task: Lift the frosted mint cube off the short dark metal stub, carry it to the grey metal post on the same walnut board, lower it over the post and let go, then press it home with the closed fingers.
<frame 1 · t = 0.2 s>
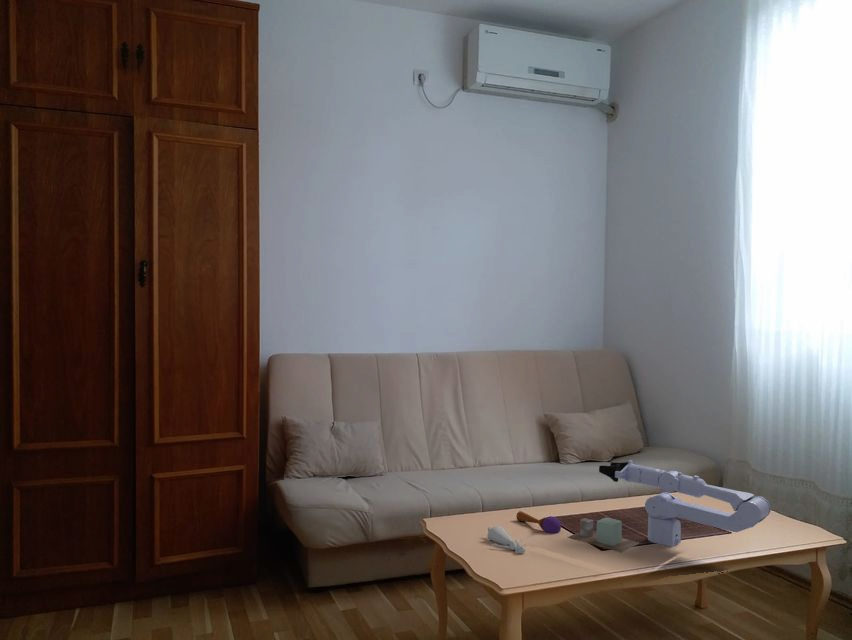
hand: (605, 467, 235), 21 cm above the table, tool horizontal, fingers open, 7 cm apart
purple and brown maraca: (538, 529, 237), on the table
frosted mint cube: (609, 541, 220), point 1 cm above the table, touching board
woman figurine: (506, 546, 220), on the table
board: (603, 543, 222), on the table
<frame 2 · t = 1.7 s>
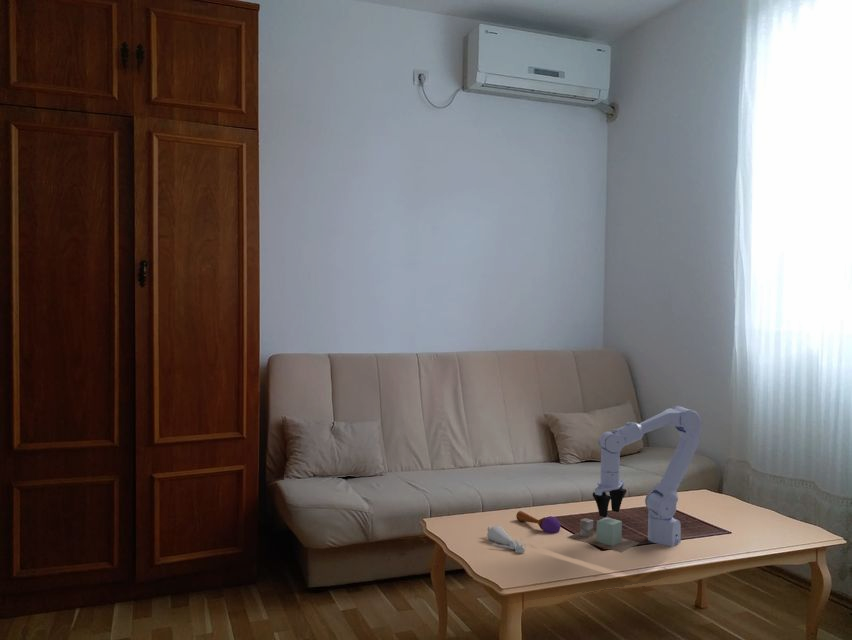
hand: (609, 513, 220), 10 cm above the table, tool pointing down, fingers open, 7 cm apart
nothing on the table moved.
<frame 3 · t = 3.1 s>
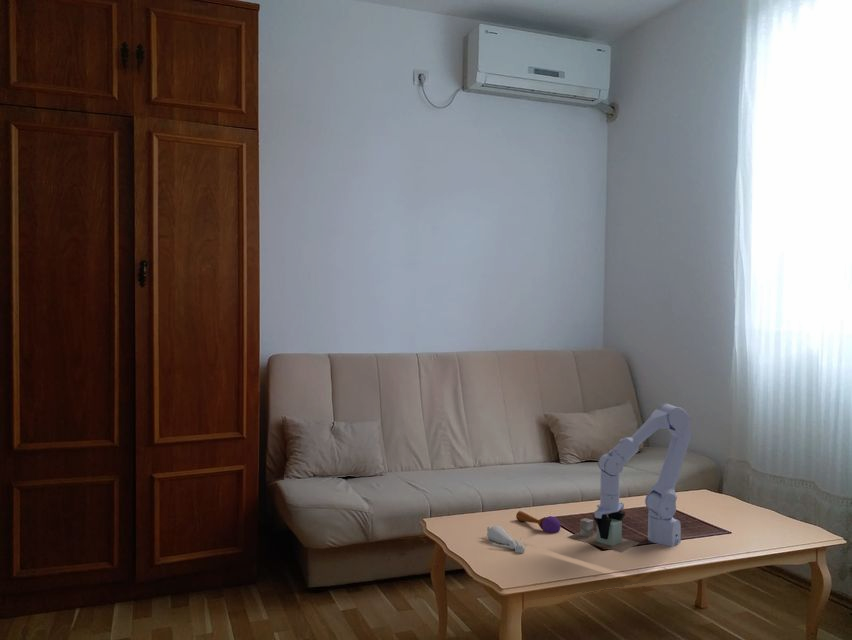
hand: (609, 536, 220), 3 cm above the table, tool pointing down, fingers closed on frosted mint cube, 6 cm apart
frosted mint cube: (609, 541, 220), point 1 cm above the table, touching board, gripper
everything else where it was.
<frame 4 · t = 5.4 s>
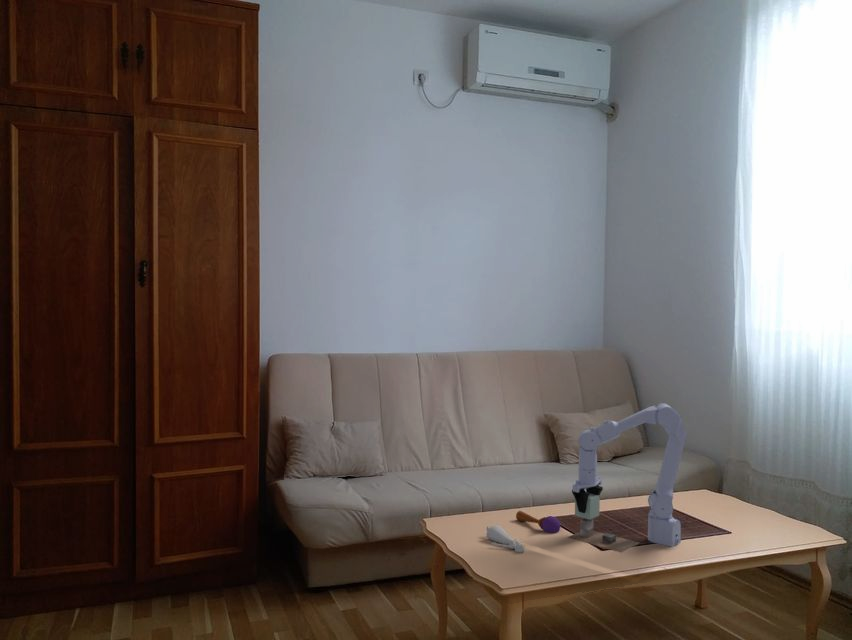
hand: (587, 510, 226), 9 cm above the table, tool pointing down, fingers closed on frosted mint cube, 6 cm apart
frosted mint cube: (587, 515, 226), point 8 cm above the table, touching gripper
when the fingers open (5 cm above the table, at t = 7.5 s): frosted mint cube drops 2 cm, resting on board.
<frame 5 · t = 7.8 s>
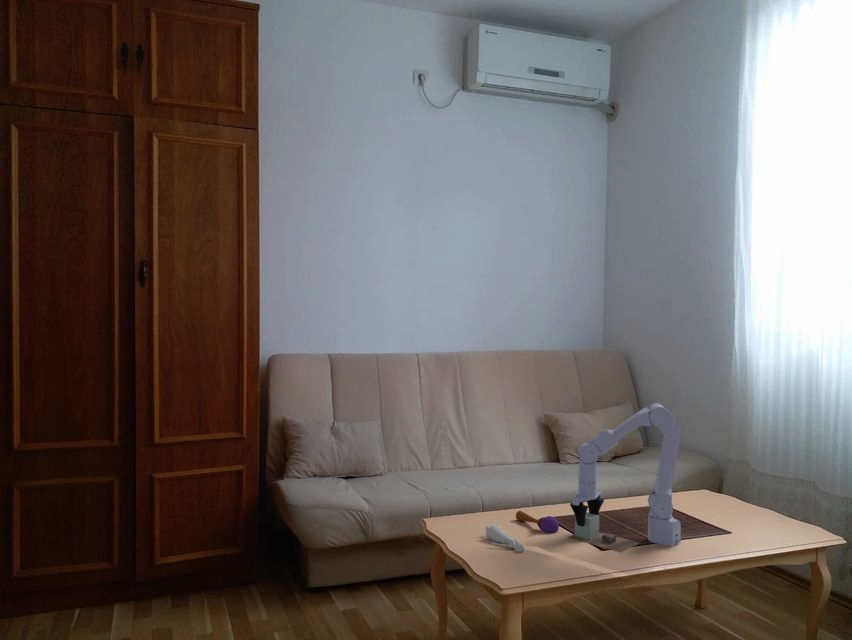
hand: (586, 523, 226), 5 cm above the table, tool pointing down, fingers open, 7 cm apart
frosted mint cube: (586, 535, 226), point 1 cm above the table, touching board
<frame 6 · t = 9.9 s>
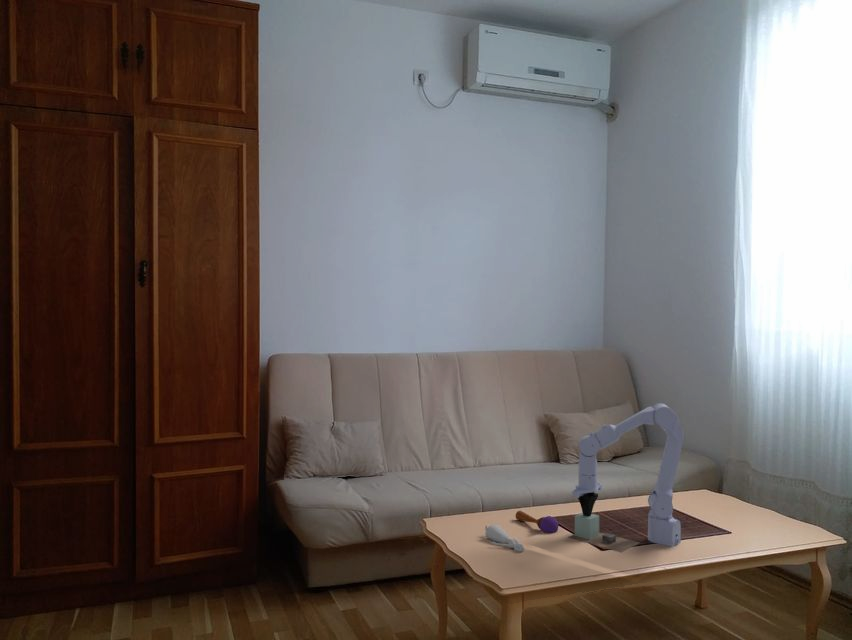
hand: (586, 515, 226), 8 cm above the table, tool pointing down, fingers closed, pressing on frosted mint cube
frosted mint cube: (586, 535, 226), point 1 cm above the table, touching board, gripper
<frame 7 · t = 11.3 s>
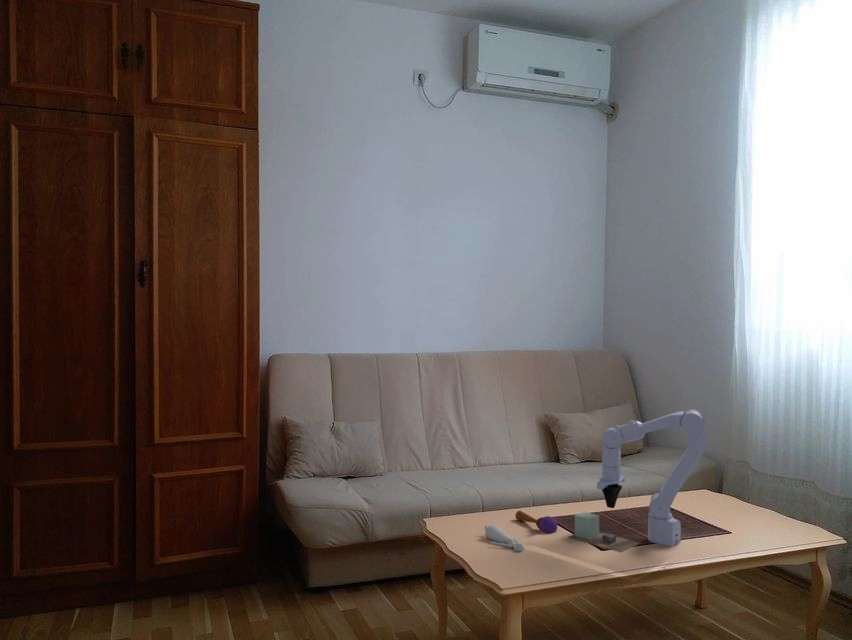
hand: (610, 507, 228), 10 cm above the table, tool pointing down, fingers closed
frosted mint cube: (586, 535, 226), point 1 cm above the table, touching board
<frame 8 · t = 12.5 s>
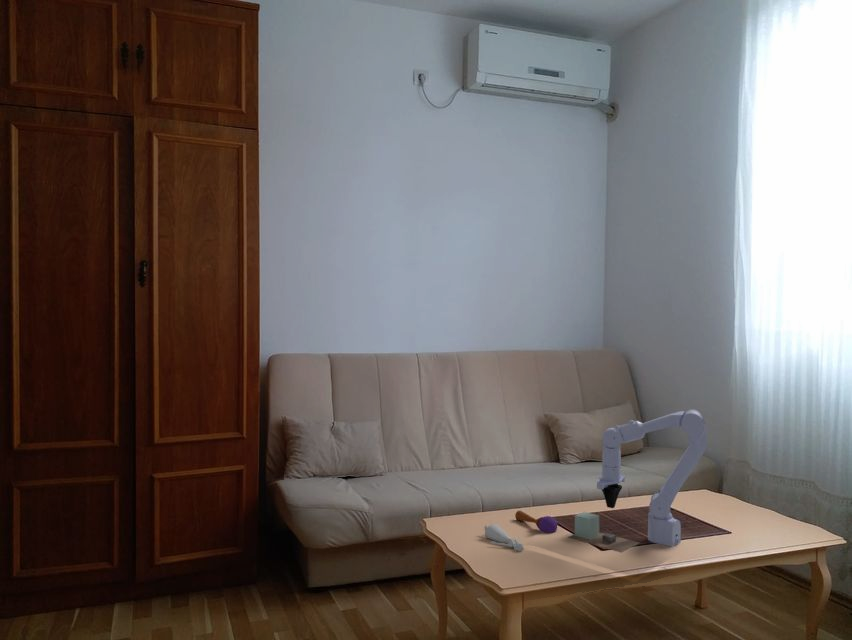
hand: (610, 507, 228), 10 cm above the table, tool pointing down, fingers closed
at the end: frosted mint cube 0.0 cm from the target spot on the board, point 1.2 cm above the board's base; frosted mint cube tilted 0°; the gripper is holding nothing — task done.
